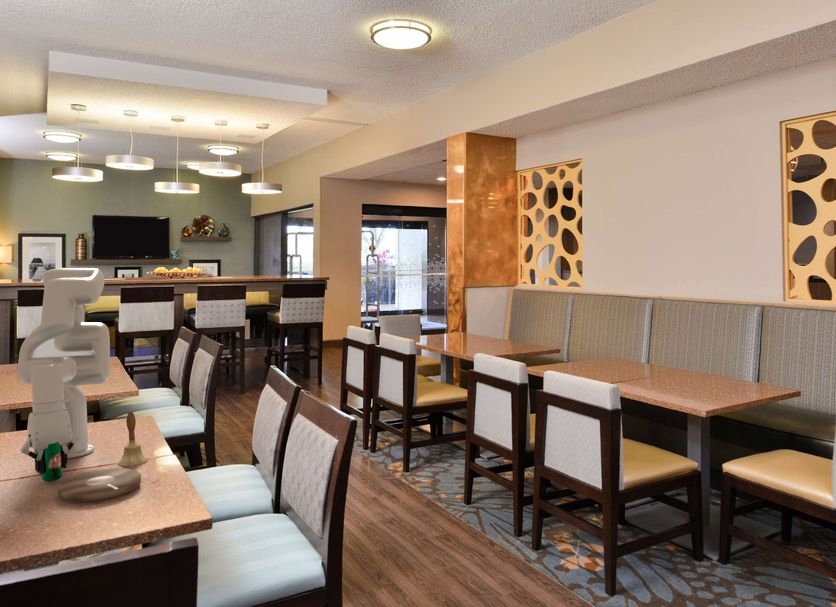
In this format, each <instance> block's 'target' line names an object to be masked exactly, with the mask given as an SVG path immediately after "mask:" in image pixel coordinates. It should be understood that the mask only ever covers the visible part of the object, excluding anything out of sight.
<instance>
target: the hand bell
mask: <svg viewBox="0 0 836 607" xmlns="http://www.w3.org/2000/svg"><path fill="white" fill-rule="evenodd" d="M125 424H126V427H127V430H128V441H129V442H128V443H126V444H125V445H124V447H123V453H122V456H121V458H120V459H119V461H118V462H117V464H118V466H120V467H136V466H139V465H142V464H146V463H147V462H148V457H147V456H145V455H144V453H143V451H142V447H141V444H140V443H138V442H136V436H135V429H136V424H137V422H136V417H135V414H134V412H133V410H130V411H127V416H126V422H125Z"/></svg>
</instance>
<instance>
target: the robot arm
mask: <svg viewBox="0 0 836 607" xmlns="http://www.w3.org/2000/svg"><path fill="white" fill-rule="evenodd" d="M42 281H43V286H44V288H43V289H44V290H43V299H42V309H41V317H40V318H41V319H40V324H39V325H38V326H37V327H36V328H35V329H34V330H32V331H31V332H30V333H29V334H28V335H27V336H26V338H25V339H24V341H23V342H22V344H21V346H20V350H19V352H18V353H19V354H18V355H19V356H18V364H17V376H18V377H17V378H18V379H19V381H20V382H21V383H22V384H25V385H31V401H32V412H30V413H29V415H28V420H27V429H26V430H27V431H26V441H25V442H24V444H23V445H22V447H21V448H20V449H19V451H20V453H22V454H24V455H26V456H28V457H30V458H32V459H34V469H35V472H36V473H38V474H40V475H41V474H44V460H42V454H43V450H44V449H46V448H48V445H49V444H50V443H51V442H54V441H57V442H59V444H60V445H61V449H62V469H67V465H68V463H69V462H68V461H69V460H68V459H72V458H73V459H74V458H79V457H82V456H85V455H88V454H90V453H92V452H94V445H93V444H90V443H89V436H88V435H89V434H88V433H89V432H88V412H87V411H88V410H87V409H88V408H87V407H88V406H87V398H86V395H85V393H84V392H83V391H82V389H80V388H79V386H87V385H99V384H103V383H104V384H105V383H106V382H107V381H108V380H109V379H110V373H111V372H110V369H111V363H110V362H111V361H110V359H111V341H110V339H111V338H110V329H109V327H108V325H107V324H105V323H103V322H97V321H96V322H94V321H93V322H91V321H90V322H85V313H86V312H85V307H84V305H87V306H88V305H94V304H96V303H97V302H98V301H99V299H100V297H101V295H102V292H103V291H104V287H105V276H104V273H103V272H102V270H100V269H99V268H94V267H89V268H88V267H58V268H51V269H48V270H46V271H45V272H44V273H43V275H42ZM50 340H53V345H54V347H55V349H56V351H58V352H61V353H83V352H92V353H94V354H86V355H85V354H84V355H79V354H78V355H65V356H64V355H62V356H46V357H45V356H44V357H33V356H34V353H35V352H36V350H37V349H38V348H39V347H40V346H42V344H45V343H46V342H49V341H50ZM30 448H32V449H33V451H32V450H30Z"/></svg>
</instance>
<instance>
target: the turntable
mask: <svg viewBox="0 0 836 607" xmlns="http://www.w3.org/2000/svg"><path fill="white" fill-rule="evenodd" d="M141 482H142V475H141V473H140V472H139V471H138V470H135V469H131V468H120V467H119V468H117V467H116V468H114V467H113V468H103V469H102V468H101V469H98V470H96V469H95V470H91V471H86V472H83V473H78V474H76V475H73V476H70V477H69V478H66V479H64V480H63V481H61V482H60V483H59V484H58V485H57V497H59V498H60V499H62V500H65V501H70V502H89V501H99V500H104V499H105V498H106V499H109V498H113V497H117V496H120V495H124V494H126V493H128V492H130V491H132V490H134V489H136V488H137V487H139V485H141ZM106 499H105V500H106Z"/></svg>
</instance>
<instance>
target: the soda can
mask: <svg viewBox="0 0 836 607" xmlns="http://www.w3.org/2000/svg"><path fill="white" fill-rule="evenodd" d="M42 460H44V474H40V475H41V480H42V481H43V482H45V483H53V482H56V481H60V480H61V479H62V477H63V476H64V475H63V470H64V469H63V468H62V449H61V445H60V444H59V442H57V441H54V442H51V443H50V444H49V445H48V448H46V449H44V450H43V454H42Z"/></svg>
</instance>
